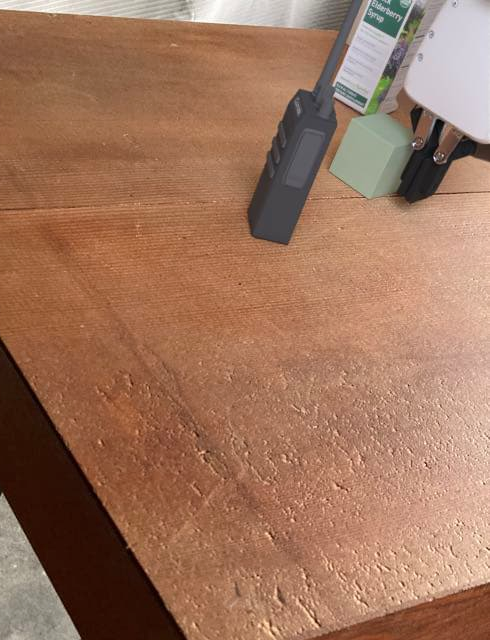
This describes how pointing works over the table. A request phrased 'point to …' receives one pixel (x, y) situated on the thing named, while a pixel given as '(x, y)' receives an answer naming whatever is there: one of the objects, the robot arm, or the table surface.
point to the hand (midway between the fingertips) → (411, 195)
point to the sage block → (373, 155)
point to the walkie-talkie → (298, 150)
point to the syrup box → (382, 53)
